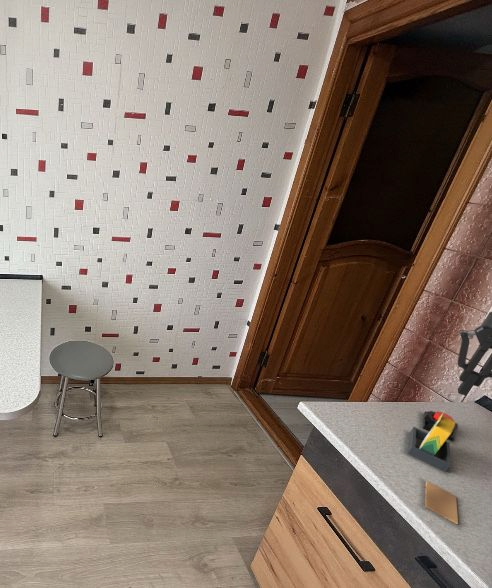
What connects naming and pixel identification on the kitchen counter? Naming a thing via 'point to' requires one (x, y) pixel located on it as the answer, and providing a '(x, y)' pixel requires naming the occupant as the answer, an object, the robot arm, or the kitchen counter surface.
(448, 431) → the crayon box
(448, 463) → the dock
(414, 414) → the kitchen counter surface
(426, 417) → the control block
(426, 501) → the mat
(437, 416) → the release button
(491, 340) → the robot arm
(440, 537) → the kitchen counter surface
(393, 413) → the kitchen counter surface
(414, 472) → the kitchen counter surface
